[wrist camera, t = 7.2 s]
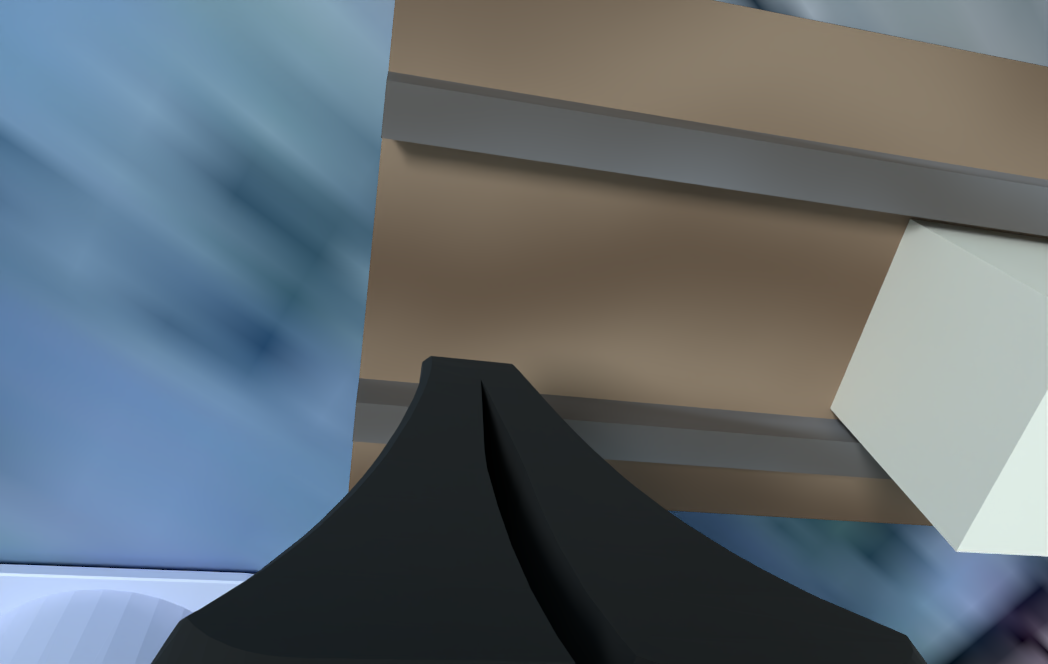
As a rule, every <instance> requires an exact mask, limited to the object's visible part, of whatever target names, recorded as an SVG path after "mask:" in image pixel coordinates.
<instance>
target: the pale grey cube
mask: <svg viewBox="0 0 1048 664" xmlns="http://www.w3.org/2000/svg"><path fill="white" fill-rule="evenodd" d="M830 409H831V410H832V411H833V412H834V413H835V415H836V416H837V417H838V418H839V419H840V420H841V421H842V423H843V424H844V425H845V426H846V427H847V428H848V429H849V430H850V432H851V433H852V434H853V435H854V436H855V437H856V438H857V440H858V441H859V442H860V443H861V444H862V445H863V446H864V447H865V449H866V450H867V451H868V452H869V453H870V454H871V455H872V457H873V458H874V459H875V460H876V461H877V462H878V463H879V465H880V466H881V467H882V468H883V469H884V470H885V471H886V472H887V474H888V475H889V476H890V477H891V478H892V479H893V480H894V482H895V483H896V484H897V485H898V486H899V487H900V488H901V490H902V491H903V492H904V493H905V494H906V495H907V496H908V497H909V499H910V500H911V501H912V502H913V503H914V504H915V505H916V507H917V508H918V509H919V510H920V511H921V512H922V513H923V514H924V516H925V517H926V518H927V519H928V520H929V521H930V522H931V524H932V525H933V526H934V527H935V528H936V529H937V530H938V532H939V533H940V534H941V535H942V536H943V537H944V538H945V539H946V541H947V542H948V543H949V544H950V545H951V546H952V547H953V549H954V550H955V551H956V552H972V553H992V554H1012V555H1032V556H1048V239H1044V238H1037V237H1030V236H1023V235H1017V234H1010V233H1003V232H996V231H989V230H983V229H976V228H969V227H962V226H955V225H949V224H942V223H935V222H928V221H921V220H914V219H910V220H909V223H908V225H907V227H906V230H905V232H904V235H903V237H902V239H901V242H900V244H899V246H898V249H897V251H896V254H895V256H894V258H893V261H892V263H891V265H890V268H889V270H888V273H887V275H886V277H885V280H884V282H883V284H882V287H881V289H880V291H879V294H878V296H877V299H876V301H875V303H874V306H873V308H872V310H871V313H870V315H869V318H868V320H867V322H866V325H865V327H864V329H863V332H862V334H861V337H860V339H859V341H858V344H857V346H856V348H855V351H854V353H853V356H852V358H851V360H850V363H849V365H848V367H847V370H846V372H845V375H844V377H843V379H842V382H841V384H840V386H839V389H838V391H837V394H836V396H835V398H834V401H833V403H832V405H831V408H830Z"/></svg>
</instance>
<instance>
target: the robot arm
mask: <svg viewBox="0 0 1048 664" xmlns="http://www.w3.org/2000/svg"><path fill="white" fill-rule="evenodd" d="M0 664H927V663H926V662H925V660H924V659H923V657H922V656H921V655H920V653H919V652H918V650H917V649H916V648H915V646H914V645H913V644H912V642H911V641H910V640H909V638H908V637H907V636H906V635H904V634H902V633H900V632H897V631H895V630H893V629H890V628H888V627H886V626H883V625H881V624H879V623H876V622H874V621H872V620H869V619H867V618H865V617H862V616H860V615H858V614H855V613H853V612H851V611H848V610H846V609H844V608H841V607H839V606H837V605H834V604H832V603H830V602H827V601H825V600H823V599H820V598H818V597H816V596H814V595H812V594H810V593H808V592H806V591H804V590H802V589H800V588H798V587H796V586H794V585H792V584H790V583H788V582H786V581H784V580H782V579H780V578H778V577H776V576H774V575H772V574H770V573H768V572H766V571H764V570H762V569H761V568H759V567H757V566H755V565H753V564H752V563H750V562H748V561H746V560H745V559H743V558H741V557H739V556H737V555H736V554H734V553H732V552H730V551H729V550H727V549H726V548H724V547H722V546H721V545H719V544H718V543H716V542H714V541H713V540H711V539H709V538H708V537H706V536H705V535H703V534H701V533H700V532H698V531H697V530H695V529H693V528H692V527H690V526H689V525H687V524H686V523H684V522H683V521H681V520H680V519H679V518H677V517H676V516H674V515H673V514H671V513H670V512H668V511H667V510H666V509H664V508H663V507H662V506H660V505H659V504H658V503H657V502H655V501H654V500H653V499H651V498H650V497H649V496H647V495H646V494H645V493H643V492H642V491H641V490H639V489H638V488H637V487H635V486H634V485H633V484H632V483H631V482H629V481H628V480H627V479H626V478H624V477H623V476H622V475H621V474H620V473H619V472H617V471H616V470H615V469H614V468H613V467H612V466H611V465H610V464H609V463H607V462H606V461H605V460H604V459H603V458H602V457H601V456H600V455H599V454H598V453H596V452H595V451H594V450H593V449H592V448H591V447H590V446H589V445H588V444H587V443H586V442H585V441H584V440H583V439H582V438H581V437H580V436H579V435H578V434H577V433H576V432H575V431H574V430H573V429H572V428H571V427H570V426H569V425H568V424H567V423H566V422H565V421H564V420H563V419H562V418H561V417H560V416H559V414H558V413H557V412H556V411H555V410H554V409H553V408H552V407H551V406H550V405H549V404H548V402H547V401H546V400H545V399H544V398H543V397H542V396H541V395H540V394H539V392H538V391H537V390H536V389H535V388H534V387H533V386H532V385H531V383H530V382H529V381H528V380H527V379H526V378H525V377H524V376H523V374H522V373H521V372H520V371H519V370H518V369H517V368H516V367H515V366H514V365H513V364H509V363H499V362H489V361H479V360H469V359H458V358H448V357H438V356H430V357H429V358H427V359H426V360H424V361H423V362H422V366H421V373H420V380H419V386H418V388H417V390H416V393H415V395H414V398H413V400H412V402H411V404H410V406H409V407H408V409H407V411H406V413H405V415H404V417H403V419H402V421H401V423H400V424H399V426H398V428H397V429H396V431H395V432H394V434H393V435H392V437H391V438H390V440H389V441H388V443H387V444H386V446H385V447H384V449H383V450H382V452H381V453H380V455H379V456H378V457H377V459H376V460H375V461H374V463H373V464H372V465H371V467H370V468H369V469H368V470H367V472H366V473H365V474H364V475H363V477H362V478H361V479H360V480H359V481H358V482H357V483H356V485H355V486H354V487H353V488H352V489H351V490H350V492H349V493H348V494H347V495H346V496H345V497H344V498H343V499H342V500H341V501H340V502H339V503H338V504H337V505H336V506H335V507H334V508H333V509H332V510H331V511H330V512H329V513H328V514H327V515H326V516H325V517H324V518H323V519H322V520H321V521H320V522H319V523H318V524H317V525H315V526H314V527H313V528H312V529H311V530H310V531H309V532H308V533H306V534H305V535H304V536H303V537H302V538H300V539H299V540H298V541H297V542H295V543H294V544H293V545H292V546H290V547H289V548H288V549H286V550H285V551H284V552H283V553H281V554H280V555H279V556H278V557H276V558H275V559H274V560H273V561H271V562H270V563H269V564H267V565H266V566H265V567H264V568H262V569H261V570H260V571H258V572H257V573H256V574H250V573H231V572H204V571H177V570H149V569H122V568H95V567H67V566H40V565H13V564H0Z"/></svg>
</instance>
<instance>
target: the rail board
mask: <svg viewBox="0 0 1048 664" xmlns="http://www.w3.org/2000/svg"><path fill="white" fill-rule="evenodd" d="M381 138H382V144H381V155H380V166H379V176H378V187H377V197H376V208H375V218H374V229H373V239H372V250H371V260H370V271H369V281H368V292H367V302H366V313H365V324H364V334H363V345H362V355H361V366H360V376H359V385H358V392H357V400H356V410H355V421H354V431H353V450H352V460H351V471H350V481H349V492H350V490H351V489H352V488H353V487H354V486H355V485H356V483H357V482H358V481H359V480H360V479H361V478H362V477H363V475H364V474H365V473H366V472H367V470H368V469H369V468H370V467H371V465H372V464H373V463H374V461H375V460H376V459H377V457H378V456H379V455H380V453H381V452H382V450H383V449H384V447H385V446H386V444H387V443H388V441H389V440H390V438H391V437H392V435H393V434H394V432H395V431H396V429H397V428H398V426H399V424H400V423H401V421H402V419H403V417H404V415H405V413H406V411H407V409H408V407H409V406H410V404H411V402H412V400H413V398H414V395H415V393H416V390H417V388H418V386H419V380H420V373H421V366H422V362H423V361H424V360H426V359H427V358H429V357H430V356H438V357H448V358H458V359H469V360H479V361H489V362H499V363H509V364H513V365H514V366H515V367H516V368H517V369H518V370H519V371H520V372H521V373H522V374H523V376H524V377H525V378H526V379H527V380H528V381H529V382H530V383H531V385H532V386H533V387H534V388H535V389H536V390H537V391H538V392H539V394H540V395H541V396H542V397H543V398H544V399H545V400H546V401H547V402H548V404H549V405H550V406H551V407H552V408H553V409H554V410H555V411H556V412H557V413H558V414H559V416H560V417H561V418H562V419H563V420H564V421H565V422H566V423H567V424H568V425H569V426H570V427H571V428H572V429H573V430H574V431H575V432H576V433H577V434H578V435H579V436H580V437H581V438H582V439H583V440H584V441H585V442H586V443H587V444H588V445H589V446H590V447H591V448H592V449H593V450H594V451H595V452H596V453H598V454H599V455H600V456H601V457H602V458H603V459H604V460H605V461H606V462H607V463H609V464H610V465H611V466H612V467H613V468H614V469H615V470H616V471H617V472H619V473H620V474H621V475H622V476H623V477H624V478H626V479H627V480H628V481H629V482H631V483H632V484H633V485H634V486H635V487H637V488H638V489H639V490H641V491H642V492H643V493H645V494H646V495H647V496H649V497H650V498H651V499H653V500H654V501H655V502H657V503H658V504H659V505H660V506H662V507H663V508H664V509H666V510H669V511H686V512H704V513H721V514H738V515H755V516H773V517H790V518H807V519H825V520H842V521H859V522H877V523H894V524H911V525H928V526H933V525H932V524H931V522H930V521H929V520H928V519H927V518H926V517H925V516H924V514H923V513H922V512H921V511H920V510H919V509H918V508H917V507H916V505H915V504H914V503H913V502H912V501H911V500H910V499H909V497H908V496H907V495H906V494H905V493H904V492H903V491H902V490H901V488H900V487H899V486H898V485H897V484H896V483H895V482H894V480H893V479H892V478H891V477H890V476H889V475H888V474H887V472H886V471H885V470H884V469H883V468H882V467H881V466H880V465H879V463H878V462H877V461H876V460H875V459H874V458H873V457H872V455H871V454H870V453H869V452H868V451H867V450H866V449H865V447H864V446H863V445H862V444H861V443H860V442H859V441H858V440H857V438H856V437H855V436H854V435H853V434H852V433H851V432H850V430H849V429H848V428H847V427H846V426H845V425H844V424H843V423H842V421H841V420H840V419H839V418H838V417H837V416H836V415H835V413H834V412H833V411H832V410H831V409H830V408H831V405H832V403H833V401H834V398H835V396H836V394H837V391H838V389H839V386H840V384H841V382H842V379H843V377H844V375H845V372H846V370H847V367H848V365H849V363H850V360H851V358H852V356H853V353H854V351H855V348H856V346H857V344H858V341H859V339H860V337H861V334H862V332H863V329H864V327H865V325H866V322H867V320H868V318H869V315H870V313H871V310H872V308H873V306H874V303H875V301H876V299H877V296H878V294H879V291H880V289H881V287H882V284H883V282H884V280H885V277H886V275H887V273H888V270H889V268H890V265H891V263H892V261H893V258H894V256H895V254H896V251H897V249H898V246H899V244H900V242H901V239H902V237H903V235H904V232H905V230H906V227H907V225H908V223H909V220H910V219H914V220H921V221H928V222H935V223H942V224H949V225H955V226H962V227H969V228H976V229H983V230H989V231H996V232H1003V233H1010V234H1017V235H1023V236H1030V237H1037V238H1044V239H1048V67H1046V66H1041V65H1036V64H1031V63H1026V62H1021V61H1016V60H1011V59H1006V58H1001V57H996V56H991V55H986V54H981V53H976V52H971V51H966V50H961V49H956V48H951V47H945V46H940V45H935V44H930V43H925V42H920V41H915V40H910V39H905V38H900V37H895V36H890V35H885V34H880V33H875V32H870V31H865V30H860V29H855V28H850V27H845V26H840V25H835V24H830V23H825V22H820V21H815V20H810V19H805V18H800V17H795V16H790V15H785V14H780V13H775V12H770V11H765V10H760V9H755V8H750V7H744V6H739V5H734V4H729V3H724V2H719V1H714V0H395V8H394V18H393V29H392V39H391V50H390V60H389V71H388V76H387V82H386V92H385V103H384V114H383V124H382V135H381Z"/></svg>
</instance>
